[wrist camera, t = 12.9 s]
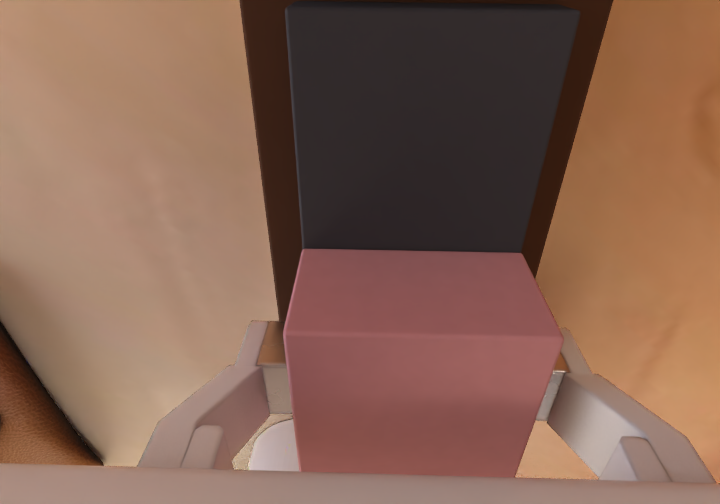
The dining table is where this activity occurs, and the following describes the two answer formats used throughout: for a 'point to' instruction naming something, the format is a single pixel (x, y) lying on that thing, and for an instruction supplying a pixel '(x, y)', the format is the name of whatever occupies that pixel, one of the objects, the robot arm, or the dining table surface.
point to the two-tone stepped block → (420, 232)
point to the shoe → (277, 145)
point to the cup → (275, 449)
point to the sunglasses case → (33, 417)
